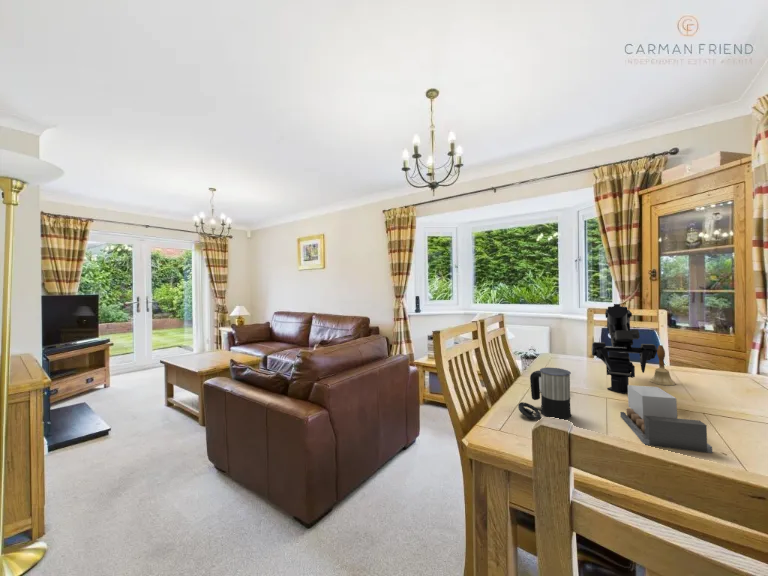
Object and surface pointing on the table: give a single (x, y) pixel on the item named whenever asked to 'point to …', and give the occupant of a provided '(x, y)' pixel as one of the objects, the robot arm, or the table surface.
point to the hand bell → (662, 370)
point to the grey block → (651, 402)
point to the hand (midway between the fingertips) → (626, 371)
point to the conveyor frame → (672, 433)
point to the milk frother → (549, 394)
